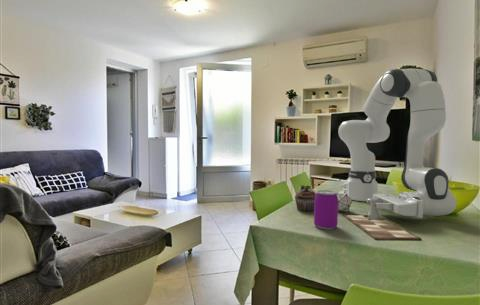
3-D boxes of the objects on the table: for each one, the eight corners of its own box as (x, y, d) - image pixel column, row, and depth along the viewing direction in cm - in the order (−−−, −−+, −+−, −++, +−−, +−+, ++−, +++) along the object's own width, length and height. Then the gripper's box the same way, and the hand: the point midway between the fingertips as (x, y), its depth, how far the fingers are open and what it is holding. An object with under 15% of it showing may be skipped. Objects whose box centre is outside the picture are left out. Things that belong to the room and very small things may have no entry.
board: (343, 215, 113) (343, 214, 113) (378, 216, 114) (378, 215, 114) (375, 239, 87) (375, 238, 87) (421, 240, 88) (421, 238, 88)
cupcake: (320, 212, 118) (321, 188, 118) (296, 212, 119) (297, 187, 118) (315, 206, 128) (315, 184, 127) (293, 206, 128) (293, 183, 128)
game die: (346, 221, 119) (357, 205, 113) (326, 212, 121) (335, 196, 114) (347, 206, 126) (358, 191, 120) (328, 198, 127) (338, 182, 121)
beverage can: (313, 228, 97) (314, 193, 96) (314, 222, 104) (315, 189, 104) (337, 231, 95) (339, 194, 94) (336, 224, 102) (337, 190, 102)
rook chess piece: (364, 217, 112) (365, 196, 111) (376, 217, 112) (376, 196, 112) (371, 221, 107) (371, 199, 107) (382, 220, 108) (383, 199, 107)
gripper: (393, 190, 120) (360, 189, 119) (426, 201, 99) (385, 200, 99) (393, 205, 120) (359, 204, 120) (425, 219, 100) (385, 219, 99)
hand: (371, 203), depth 109 cm, fingers open, 5 cm apart
